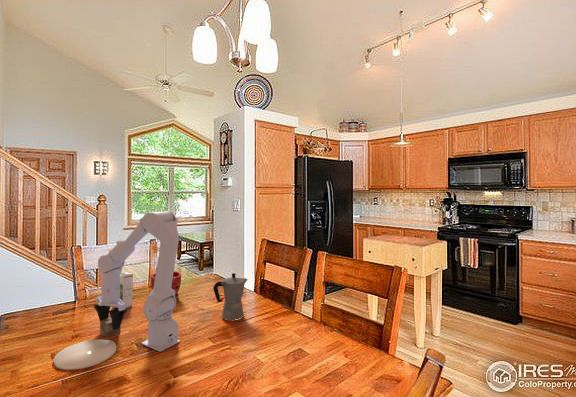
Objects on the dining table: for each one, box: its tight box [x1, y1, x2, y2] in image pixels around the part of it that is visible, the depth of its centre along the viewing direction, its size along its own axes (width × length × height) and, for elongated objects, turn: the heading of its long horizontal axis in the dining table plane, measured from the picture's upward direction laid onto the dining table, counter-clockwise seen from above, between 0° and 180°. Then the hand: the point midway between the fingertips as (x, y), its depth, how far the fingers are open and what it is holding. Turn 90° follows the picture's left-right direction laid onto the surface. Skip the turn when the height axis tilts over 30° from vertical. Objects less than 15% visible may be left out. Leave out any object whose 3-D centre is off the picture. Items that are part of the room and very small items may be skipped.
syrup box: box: [112, 271, 134, 309], centre depth 134 cm, size 6×6×14 cm
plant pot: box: [150, 270, 182, 300], centre depth 144 cm, size 13×13×12 cm
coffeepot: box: [212, 272, 249, 320], centre depth 126 cm, size 15×9×18 cm, turn 129°
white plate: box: [53, 338, 117, 371], centre depth 95 cm, size 16×16×1 cm
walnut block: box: [99, 316, 121, 339], centre depth 110 cm, size 5×5×5 cm
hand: (110, 326), depth 110 cm, fingers open, 7 cm apart
